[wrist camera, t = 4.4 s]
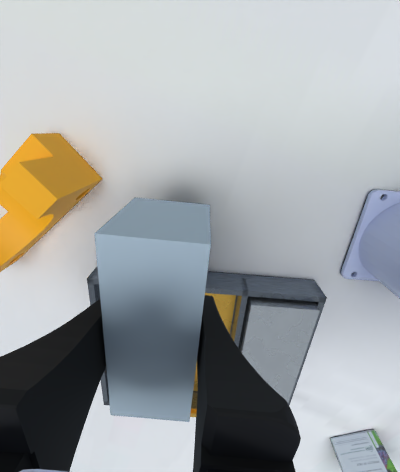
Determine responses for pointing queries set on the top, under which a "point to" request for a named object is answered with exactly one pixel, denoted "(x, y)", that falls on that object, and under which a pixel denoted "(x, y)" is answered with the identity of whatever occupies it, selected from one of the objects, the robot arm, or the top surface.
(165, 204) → the tall blue-grey block
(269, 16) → the top surface
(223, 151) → the top surface
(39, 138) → the pipe clamp
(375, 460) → the syrup box
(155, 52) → the top surface
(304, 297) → the grey compartment tray
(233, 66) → the top surface
